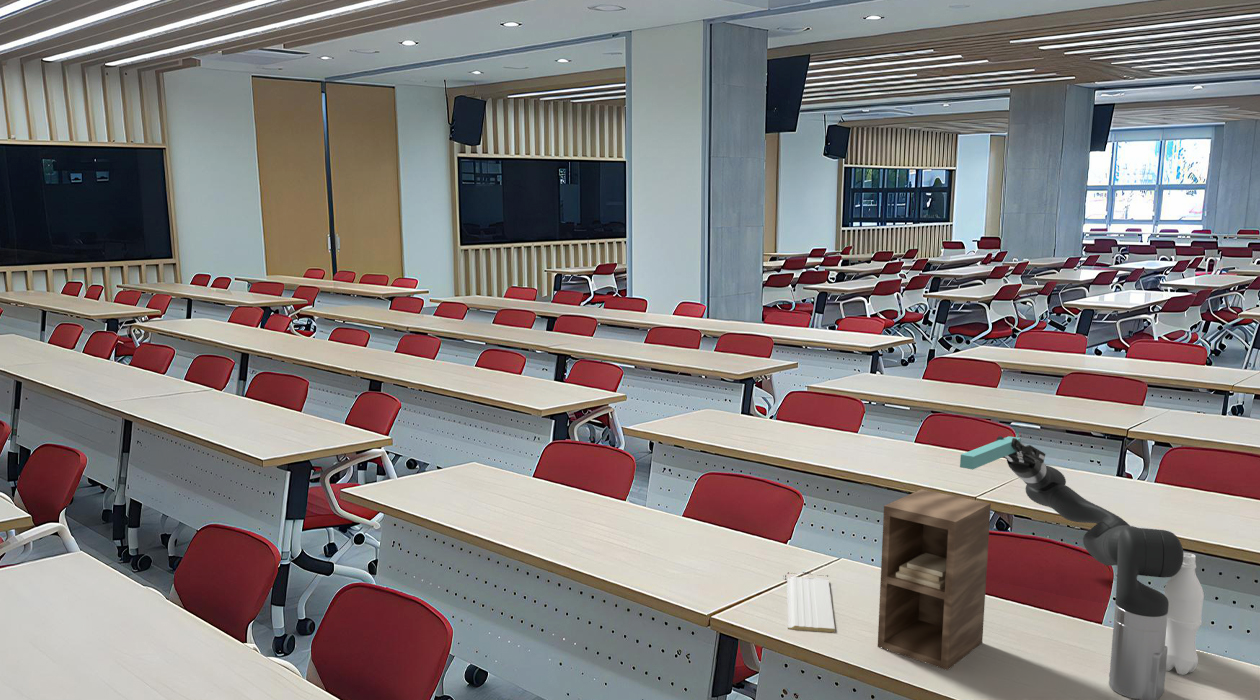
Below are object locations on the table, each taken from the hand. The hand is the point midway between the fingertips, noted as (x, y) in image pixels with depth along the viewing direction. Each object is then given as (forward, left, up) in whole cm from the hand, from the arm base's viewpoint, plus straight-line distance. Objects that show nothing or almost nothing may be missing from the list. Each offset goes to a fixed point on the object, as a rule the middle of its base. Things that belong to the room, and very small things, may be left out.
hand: (1006, 440), depth 233 cm
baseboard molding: (+32, +38, -40) cm, 64 cm away
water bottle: (-44, +14, -40) cm, 61 cm away
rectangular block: (0, +9, -3) cm, 9 cm away
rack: (-1, +39, -40) cm, 55 cm away
